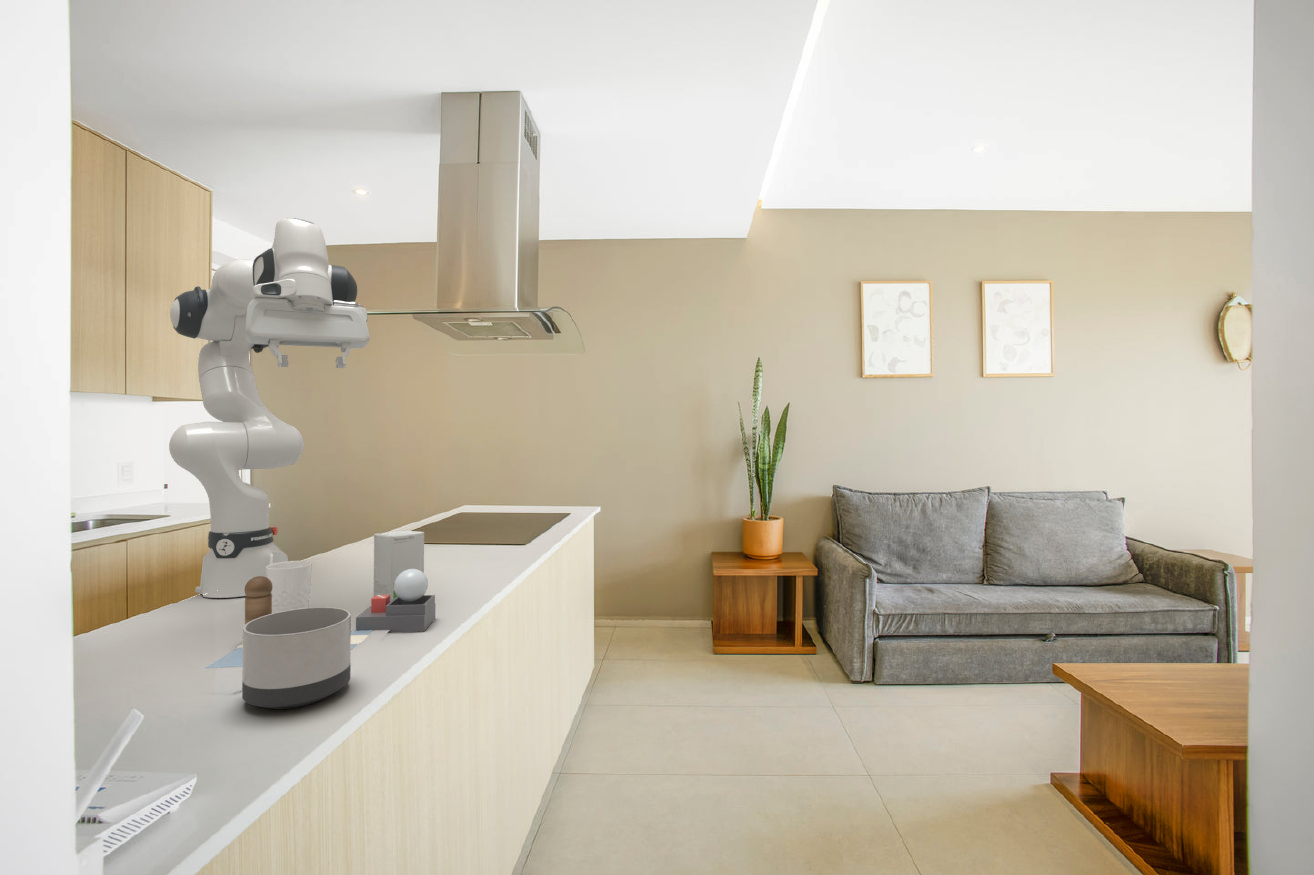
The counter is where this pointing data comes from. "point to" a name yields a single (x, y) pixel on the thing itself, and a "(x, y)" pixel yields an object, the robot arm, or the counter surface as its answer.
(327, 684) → the planter
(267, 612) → the brown pepper mill
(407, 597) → the ball
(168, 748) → the counter surface
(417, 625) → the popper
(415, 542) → the skincare box
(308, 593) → the white cup
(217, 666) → the board
